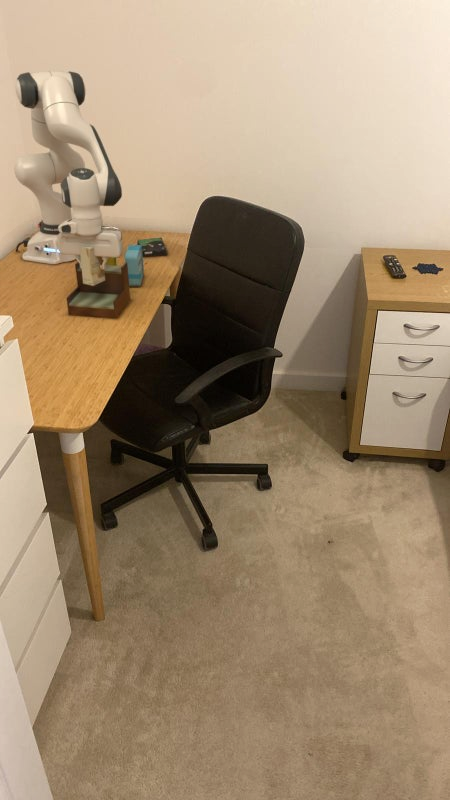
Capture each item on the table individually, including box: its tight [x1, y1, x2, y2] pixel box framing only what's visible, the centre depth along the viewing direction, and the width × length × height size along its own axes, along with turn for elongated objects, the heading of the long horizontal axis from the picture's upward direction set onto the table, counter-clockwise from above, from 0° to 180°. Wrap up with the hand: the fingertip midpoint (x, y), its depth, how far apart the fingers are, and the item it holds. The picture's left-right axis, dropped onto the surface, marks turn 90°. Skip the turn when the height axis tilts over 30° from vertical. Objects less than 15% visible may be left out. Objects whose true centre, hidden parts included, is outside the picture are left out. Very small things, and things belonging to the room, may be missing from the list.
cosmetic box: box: [79, 246, 105, 286], centre depth 204 cm, size 6×4×12 cm
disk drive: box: [137, 237, 168, 258], centre depth 261 cm, size 10×3×15 cm
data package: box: [124, 244, 145, 288], centre depth 231 cm, size 12×4×12 cm, turn 179°
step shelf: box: [66, 261, 131, 320], centre depth 211 cm, size 16×15×14 cm
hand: (93, 268), depth 205 cm, fingers closed on cosmetic box, 5 cm apart
